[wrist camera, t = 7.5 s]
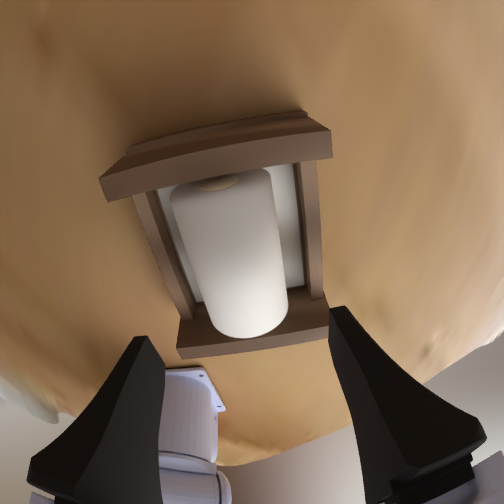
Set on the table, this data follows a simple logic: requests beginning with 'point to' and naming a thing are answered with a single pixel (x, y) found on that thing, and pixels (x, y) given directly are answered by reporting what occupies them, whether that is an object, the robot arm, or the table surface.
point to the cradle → (286, 204)
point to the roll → (234, 250)
